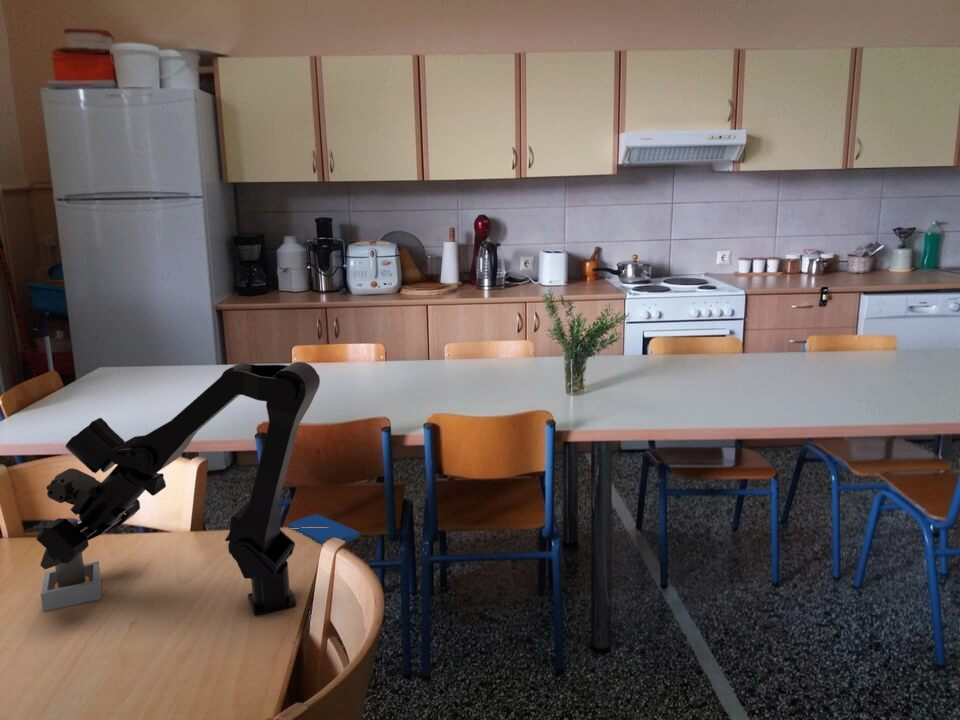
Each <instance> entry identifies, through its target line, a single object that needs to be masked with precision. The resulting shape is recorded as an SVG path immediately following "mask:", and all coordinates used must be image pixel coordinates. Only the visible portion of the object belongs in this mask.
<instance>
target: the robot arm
mask: <svg viewBox="0 0 960 720" xmlns="http://www.w3.org/2000/svg"><path fill="white" fill-rule="evenodd" d="M320 380H321V379H320V375H319V374H318V372H317V371H316V369H315V368H314V366H312V365H311V364H309V363H307V362H303V361H296V362H293V363H290V364H289V365H287V364H254V363H246V362H239V363H237V364H236V365H232V366H231V367H229V368H227V369H225V370H224V371H223V372H222V374H221V376H220V377H219V378H217V379H216V380H215V381H214V382H213V383H212V384H211V385H209V387H207V388H206V389H204V391H203V392H202V393H200V394H199V395H198V396H197V397H196V398H195V399H193V400H192V401H191V403H189V404H188V405H187V406H186V407H184V408H183V409H182V410H181V411H180V412H179V413H178V414H177V415H175V417H173V418H172V419H171V420H170V421H168V422H166V423H164V424H163V425H160V426H159V427H157V428H155V429H154V430H152V431H150V432H149V433H147V434H145V435H136V436H133V437H131V438H129V439H128V440H126V441H125V440H124V439H123V438H122V437H121V436H120V435H119V434H118V433H117V432H116V431H115V430H114V429H113V428H111V427H110V426H109V424H108V422H106V421H105V420H104V419H103V418H102V417H98V418H96V419H94V420H92V421H91V422H90V423H89V424H88V425H87V426H86V427H84V428H83V429H82V430H80V431H79V432H78V433H77V434H76V435H73V436H72V437H71V438H70V439H69V440H68V441H67V443H66V445H65V448H66V449H67V451H68V452H70V453H71V454H72V455H73V456H74V457H75V458H76V459H77V460H79V461H80V463H82V464H83V465H84V466H85V467H86V468H87V469H88V470H90V471H91V472H92V473H94V474H97V473H98V472H99V471H101V472H102V473H106V472H107V471H109V470H110V469H112V468H113V469H112V470H111V471H110V473H109V474H108V475H107V476H106V477H105V478H104V479H103V480H102V481H100V480H97V478H95V477H94V476H93V475H89V474H88V473H85V472H84V471H82V470H79V469H77V468H68V469H66V470H64V471H62V472H61V473H59V474H56V475H55V476H54V478H53V479H51V481H50V483H49V484H48V485H46V490H47V493H46V495H47V498H49V499H50V500H53V501H55V502H57V503H59V504H63V503H67V504H69V505H72V507H71V508H70V511H71V512H72V513H73V514H74V515H75V516H78V518H79V520H80V523H78V525H77V526H74V525H73V524H72V523H70V522H69V521H68V520H67V519H66V518H63V517H62V518H60V517H58V518H56V519H54V520H53V521H51V522H50V523H48V524H47V525H45V526H44V527H42V529H41V530H39V532H38V533H37V534H36V541H38V543H39V544H41V545H42V547H44V548H45V549H44V554H43V555H42V559H41V561H40V564H39V565H40V566H41V568H42V569H43V570H49V569H51V568H53V567H54V568H55V566H57V565H59V564H62V563H66V564H68V563H69V562H71V561H72V560H73V559H75V558H76V557H78V556H79V555H80V554H81V553H82V554H83V552H84V551H86V549H88V547H89V541H90V540H93V539H95V538H96V537H99V536H101V535H102V534H105V533H108V532H109V531H112V530H113V529H115V528H118V527H120V526H121V525H123V523H125V522H127V520H129V519H130V518H132V517H134V516H135V515H136V513H137V512H138V511H140V510H141V504H140V500H139V498H140V497H141V495H142V494H143V493H144V492H145V491H146V492H147V493H148V494H150V495H151V496H152V497H153V496H155V495H157V494H158V493H160V492H161V491H162V490H164V489H165V488H167V484H166V480H165V478H164V476H165V475H164V473H163V472H162V473H161V472H160V471H161V470H163V469H164V468H166V467H168V466H169V465H170V464H172V463H173V462H175V461H176V460H177V459H179V458H180V457H181V456H182V454H183V453H184V452H185V451H186V449H187V447H188V446H189V445H190V443H192V442H191V441H192V440H193V438H194V437H195V435H196V434H197V433H198V431H200V430H201V429H202V428H204V427H205V426H206V425H207V424H208V423H209V422H210V421H211V420H212V419H214V418H215V417H217V415H218V414H219V413H221V411H223V410H224V409H225V408H226V407H227V406H229V404H231V403H232V402H233V401H234V400H235V399H237V398H238V397H239V396H240V395H241V396H245V397H248V398H250V399H253V400H256V401H260V402H266V403H265V404H266V405H265V408H266V412H267V418H268V426H267V430H266V434H265V438H264V442H263V447H262V449H261V454H260V458H259V461H258V466H257V469H256V470H257V471H256V474H255V477H254V482H253V487H252V490H251V494H250V499H249V502H248V501H247V502H246V503H245V504H244V505H242V506H241V508H239V509H238V510H237V512H235V513H234V514H233V515H232V516H231V519H230V522H229V524H230V526H229V532H228V534H227V536H226V537H225V540H224V541H225V542H228V548H227V549H228V554H230V556H231V557H232V558H233V560H234V561H235V562H236V564H237V566H238V568H239V570H240V572H241V574H242V576H243V578H244V579H247V580H248V579H249V580H250V581H251V582H250V583H251V593H248V594H247V599H248V601H249V606H250V607H251V610H252V613H253V615H254V616H261V615H265V614H267V613H271V612H276V611H279V610H283V609H287V608H291V607H292V608H293V607H295V606H296V605H297V601H296V598H295V595H293V592H292V590H291V588H290V576H289V575H290V574H289V563H288V561H287V560H289V558H290V557H291V556H292V555H293V553H294V550H295V547H296V542H295V541H294V540H293V539H292V538H290V537H289V536H288V535H287V534H286V533H285V532H284V531H282V530H281V524H282V523H281V522H282V521H281V520H282V516H281V512H280V511H281V510H280V507H279V503H280V499H281V495H282V492H283V488H284V484H285V481H286V476H287V472H288V469H289V465H290V460H291V458H292V457H291V456H292V453H293V449H294V445H295V442H296V439H297V438H296V437H297V433H298V430H299V426H300V424H301V422H302V420H303V418H304V416H305V415H306V414H307V412H308V410H309V408H310V406H311V404H312V402H313V400H314V398H315V397H316V394H317V392H318V390H319V388H320V383H321V382H320ZM115 465H116V466H115ZM114 466H115V467H114ZM159 472H160V473H159Z"/></svg>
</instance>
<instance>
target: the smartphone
mask: <svg viewBox="0 0 960 720" xmlns="http://www.w3.org/2000/svg"><path fill="white" fill-rule="evenodd" d="M301 527H329V528H301ZM287 528H288V529H290V528H299V529H291V530H292V531H294V530H296V531H295V532H296V533H298V532H299V533H298V534H300V533H302V534H303V535H305V536H307V537H309V538H311V539H312V540H311V539H310V540H311V541H313V540H314V541H313V542H315V541H316V542H315V543H317V544H319V545H321V546H323V545H322V544H323V543H324V542H325V541H326V540H327V539H329V538H333V537H335V538H340V539H343V540H345V541H346V543H349V542H351V541H354V540H356V539H358V538H360V537H361V534H360V533H361V532H360V531H358V530H356V529H354V528H351V527H349V526H347V525H345V524H342V523H339V522H337V521H336V520H333V519H331V518H328V517H326V516H324V515H321V514H318V513H315V514H311V515H308V516H305V517H303V518H301V519H297V520H295V521H292V522H290V523H288V524H287ZM302 534H301V535H302ZM303 535H302V536H303ZM305 536H304V537H305ZM307 537H306V538H307ZM309 538H308V539H309ZM346 543H345V544H346Z"/></svg>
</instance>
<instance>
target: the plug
mask: <svg viewBox="0 0 960 720" xmlns="http://www.w3.org/2000/svg"><path fill="white" fill-rule="evenodd" d="M65 519H67V520H68V521H69V522H70V523H72V524H73V525H74V526H77V525H78V524H79V520H78V519H77V518H73V517H72V518H71V517H67V518H65ZM84 564H85V563H84V556H83V552H82V553H81V554H80V555H79V556H78V557H76V558H75V559H73V560H72V561H71V562H69V563H68V564H66V563H62V564H59V565H57V566H54V568H55V570H56V576H57V583H56V584H55V586H54V588H55V589H57V588H62V587H67V586H72V585H76V584H81V583H86V582H89V577H87V576H85V571H84Z"/></svg>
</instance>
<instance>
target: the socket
mask: <svg viewBox="0 0 960 720" xmlns="http://www.w3.org/2000/svg"><path fill="white" fill-rule="evenodd" d="M84 571H85V576H87V577H89V582H86V583H81V584H76V585H72V586H67V587H62V588H57V589H55V588H54V586H55V584H56V583H57V576H56V569H55V570H54V569H53V570H49V571H44V574H43V581H42V585H41V586H42V587H41V590H40V597H41V603H42V610H43V612H49V611H52V610H57V609H61V608H62V609H63V608H67V607H71V606H74V605H75V606H76V605H81V604H85V603H90V602H93V601H99V600H101V599H102V598H101V595H102V594H101V593H102V591H101V590H102V587H101V586H102V585H101V583H102V574H101V567H100V561H99V560H98V561H94V562H88V563H84Z"/></svg>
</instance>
